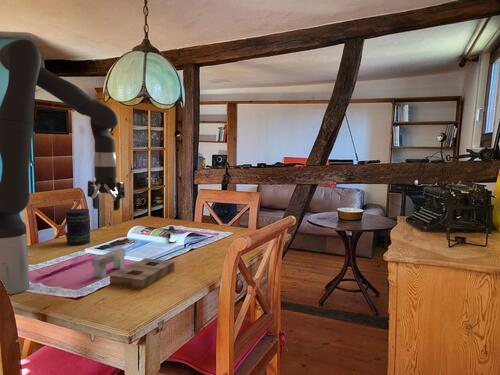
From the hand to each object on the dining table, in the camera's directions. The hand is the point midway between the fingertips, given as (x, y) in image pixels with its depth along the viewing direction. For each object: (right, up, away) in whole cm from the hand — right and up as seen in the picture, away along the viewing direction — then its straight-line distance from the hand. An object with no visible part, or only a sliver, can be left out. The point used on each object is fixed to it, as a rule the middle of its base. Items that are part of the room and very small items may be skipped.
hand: (106, 209), depth 142 cm
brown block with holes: (+16, -22, -10) cm, 29 cm away
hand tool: (+15, -17, +45) cm, 50 cm away
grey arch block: (+3, -22, -5) cm, 22 cm away
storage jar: (-25, -17, +34) cm, 45 cm away
